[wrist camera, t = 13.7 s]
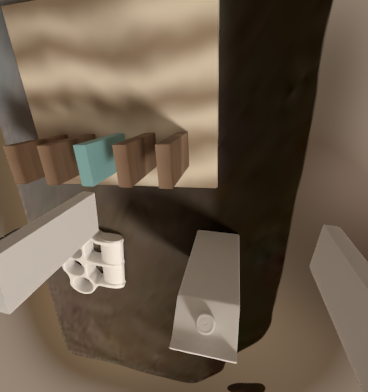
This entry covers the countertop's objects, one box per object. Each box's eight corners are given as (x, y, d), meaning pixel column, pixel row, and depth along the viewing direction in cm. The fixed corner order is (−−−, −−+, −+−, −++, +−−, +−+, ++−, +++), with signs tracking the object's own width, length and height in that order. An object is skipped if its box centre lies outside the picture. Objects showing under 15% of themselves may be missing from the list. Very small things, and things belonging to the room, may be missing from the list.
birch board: (8, 9, 33) (0, 6, 32) (219, -27, 27) (218, -32, 26) (55, 180, 43) (51, 182, 42) (217, 185, 36) (217, 188, 35)
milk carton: (235, 267, 42) (233, 383, 25) (196, 261, 43) (169, 368, 26) (239, 233, 39) (240, 339, 22) (197, 229, 40) (168, 324, 23)
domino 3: (119, 164, 37) (82, 185, 28) (114, 133, 36) (72, 145, 27) (128, 164, 37) (93, 186, 28) (124, 133, 35) (85, 145, 26)
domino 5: (179, 165, 35) (159, 188, 26) (177, 132, 33) (154, 144, 24) (189, 165, 35) (172, 189, 26) (188, 131, 33) (169, 144, 24)
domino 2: (92, 164, 39) (47, 184, 30) (85, 134, 37) (36, 145, 28) (100, 164, 38) (58, 185, 29) (94, 133, 36) (47, 145, 27)
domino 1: (66, 164, 40) (15, 183, 31) (58, 134, 38) (2, 146, 29) (74, 164, 39) (25, 184, 30) (67, 134, 37) (13, 146, 28)
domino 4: (148, 165, 36) (119, 187, 27) (144, 132, 34) (112, 145, 25) (158, 165, 36) (131, 187, 27) (155, 132, 34) (125, 144, 25)
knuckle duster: (128, 290, 51) (69, 277, 53) (125, 220, 44) (57, 208, 46) (121, 303, 48) (59, 288, 50) (117, 229, 41) (44, 215, 43)
